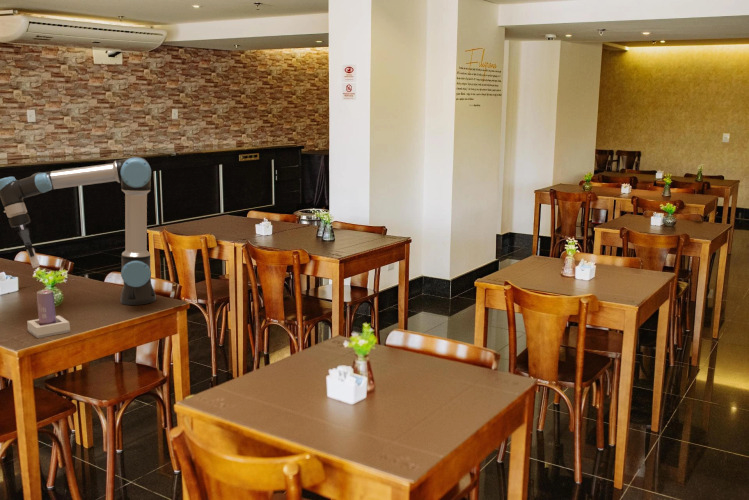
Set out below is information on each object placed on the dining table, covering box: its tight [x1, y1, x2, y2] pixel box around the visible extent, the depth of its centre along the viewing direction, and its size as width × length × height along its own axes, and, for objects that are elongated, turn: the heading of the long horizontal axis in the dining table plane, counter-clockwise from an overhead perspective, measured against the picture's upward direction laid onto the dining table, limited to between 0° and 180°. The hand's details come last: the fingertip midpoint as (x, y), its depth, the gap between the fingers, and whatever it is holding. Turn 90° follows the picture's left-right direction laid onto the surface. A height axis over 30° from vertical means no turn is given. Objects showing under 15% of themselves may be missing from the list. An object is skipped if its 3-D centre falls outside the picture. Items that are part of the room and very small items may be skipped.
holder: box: [26, 315, 71, 339], centre depth 283 cm, size 12×12×4 cm
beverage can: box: [36, 289, 57, 326], centre depth 282 cm, size 6×6×15 cm
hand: (36, 265), depth 294 cm, fingers open, 13 cm apart
